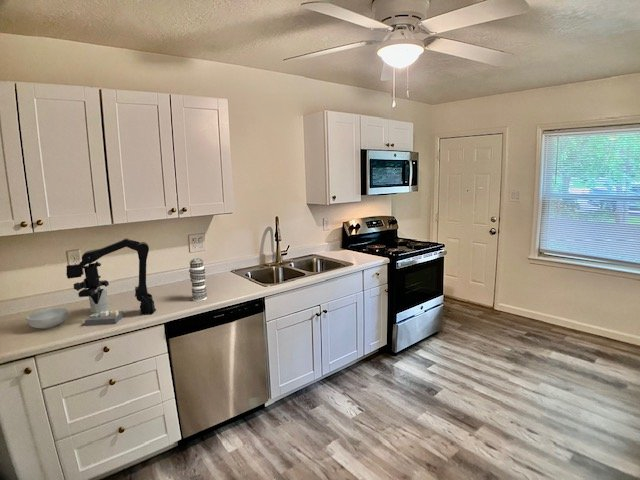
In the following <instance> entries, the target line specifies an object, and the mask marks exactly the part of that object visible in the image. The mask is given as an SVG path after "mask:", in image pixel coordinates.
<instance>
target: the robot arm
mask: <svg viewBox="0 0 640 480" xmlns="http://www.w3.org/2000/svg"><path fill="white" fill-rule="evenodd" d="M125 248H129V249H131V250H133V251H136V252H137V256H138V285H137V286H135V287H134V288H135V289H134V291H135V293H134V297H135V298H136V300H137V301H138V302H140V305H139V311H140V315H153V314H154V313H155V312H156V311H157V308H156V307H155V300H153V298H154V297H153V295H152V294H151V293H149V291H148V287H147V260H148V259H147V258H148V255H149V251H150V246H149V244H148V243H147V242H145V241H140V242H139V241H136V240H133V239H130V238H123V239H122V240H119V241H117V242H114V243H112V244H108V245H107V246H104V247H100V248H96V249H89V250H87V251H84V253H83V254H82V255H81V261H80V262H79V263H77V264H67V265H66V273H65V274H66V278H67V279H69V280H71V279H74V278H75V279H77V278H82V276H83V275H84V276H85V277H84V278H83V281H81V282H75V283H74V284H73V290H75V291H77V292H78V293H77V294H78V298H84V297H88V298H89V296H90V297H91V298H92V300H93V301H94V303H95V304H98V303H99V300H100V297H101V294H102V292H103V290H104V289H105V288H103V289H101V288H102V287H103V286H104V287H108V286H109V285H110V283H109V281H108V280H100V278H101V275H99V270H98V267H101V266H102V263H101V262H99V261H98V260H99V259H101V258H102V257H103V256H106V255H110V254H111V253H114V252H117V251H119V250H121V249H125Z"/></svg>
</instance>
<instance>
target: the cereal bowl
mask: <svg viewBox="0 0 640 480" xmlns="http://www.w3.org/2000/svg"><path fill="white" fill-rule="evenodd" d="M68 313H69V312H68V309H67V308H66V307H60V306H56V307H49V308H44V309H40V310H37V311H33V312H32V313H30V314H28V315H27V316H26V321H27V324H28V325H29V326H30V327H32V328H35V329H42V330H43V329H44V330H47V329H53V328H54V327H57V326H59V325H60V324H62V323H63V322H65V321H66V319H67V318H68Z"/></svg>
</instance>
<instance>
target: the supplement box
mask: <svg viewBox="0 0 640 480" xmlns="http://www.w3.org/2000/svg"><path fill="white" fill-rule="evenodd" d="M100 288H101V289H104V290H103V292H102V294H101V297H100V300H99V303H98V304H95V303H94V301H93V300H92V298H91V297H90V296H88V301H89V306H90V311H91V312H90V313H92V314H94V313H101V312H102V311H109V312H110V310H111V309H110V306H109V305H110V303H109V298H108V297H109V296H108V290H107V288H103V287H100Z"/></svg>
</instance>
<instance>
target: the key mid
mask: <svg viewBox="0 0 640 480" xmlns="http://www.w3.org/2000/svg"><path fill="white" fill-rule="evenodd" d="M109 312H110V310H109V311H102V312H101V313H100V317H107V316H108V315H109Z"/></svg>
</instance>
